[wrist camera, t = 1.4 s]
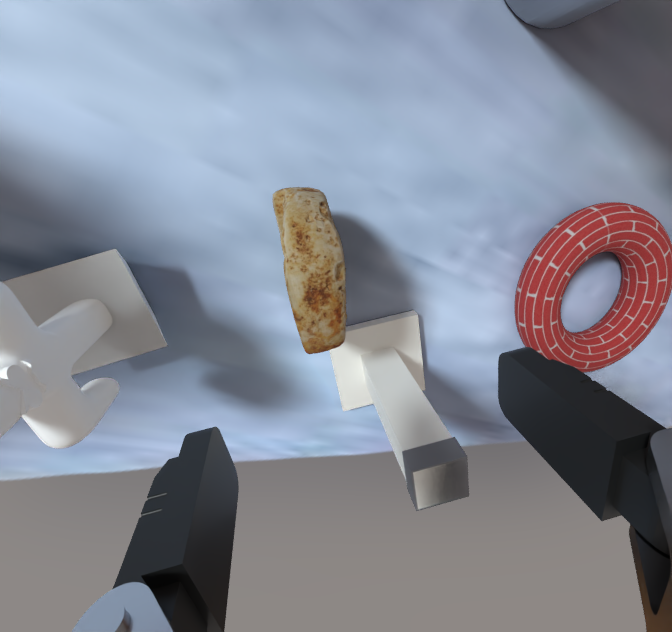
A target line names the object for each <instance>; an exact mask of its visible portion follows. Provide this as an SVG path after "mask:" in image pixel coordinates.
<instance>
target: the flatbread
mask: <svg viewBox="0 0 672 632" xmlns="http://www.w3.org/2000/svg"><path fill="white" fill-rule="evenodd" d="M273 207H274V211H275V215H276V219H277V224H278V227H279V231H280V238H281V245H282V250H283V254H284V257H285V259H284V274H285V281H286V286H287V291H288V295H289V300H290V303H291V307H292V311H293V315H294V319H295V322H296V325H297V329H298V332H299V334H300V338H301V341H302V344H303V347H304V349H305V351H306V353H308V354H312V353H320V352H324V351H328V350H331V349H334V348H337V347H339V346H341V344H343V343H344V341H345V337H346V319H347V315H346V289H345V284H346V279H345V277H346V268H345V261H344V254H343V247H342V243H341V239H340V236H339V234H338V231H337V229H336V227H335V224H334V222H333V219H332V216H331V213H330V210H329V206H328V202H327V199H326V197H325V195H324V193H323V192H321V191H320V190H318V189H313V188H300V187H295V188H285V189H281V190H279V191H276V192H275V193H274V194H273Z"/></svg>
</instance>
